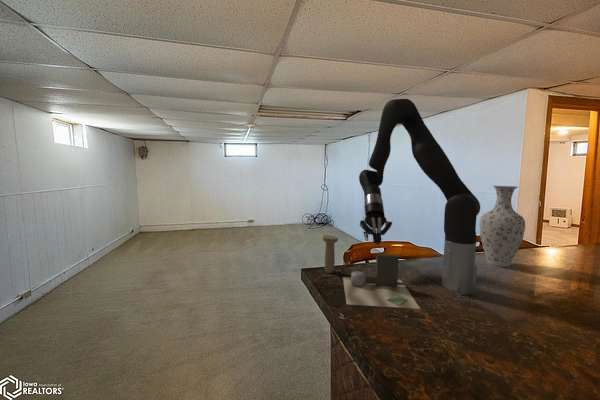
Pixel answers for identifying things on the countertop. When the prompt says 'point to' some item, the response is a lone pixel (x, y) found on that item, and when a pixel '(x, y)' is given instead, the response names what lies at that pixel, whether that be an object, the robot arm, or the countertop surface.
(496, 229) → the vase
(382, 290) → the board
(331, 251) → the beige pillar
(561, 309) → the countertop surface
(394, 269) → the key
